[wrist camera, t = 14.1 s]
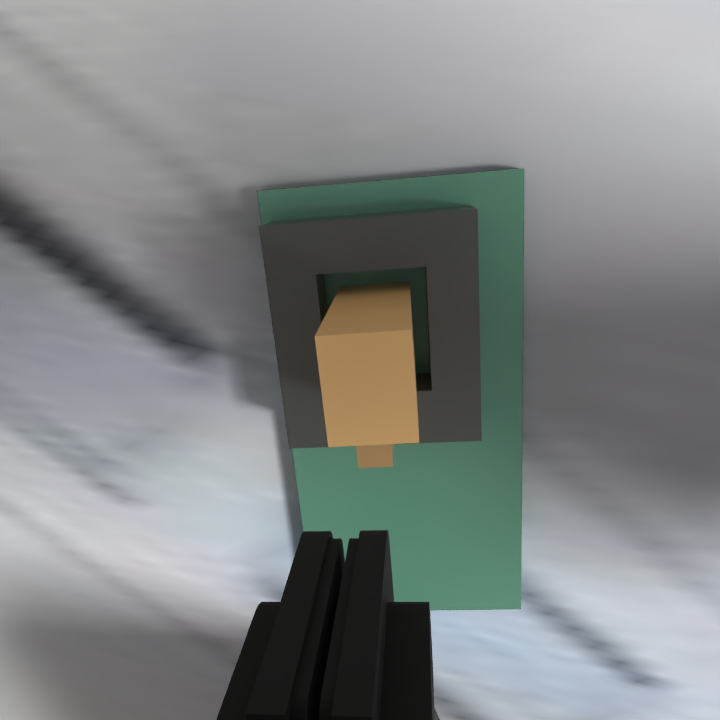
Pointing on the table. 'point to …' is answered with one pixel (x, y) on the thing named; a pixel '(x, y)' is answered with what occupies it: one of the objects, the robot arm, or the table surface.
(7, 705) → the table surface
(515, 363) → the header board
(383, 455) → the plug
